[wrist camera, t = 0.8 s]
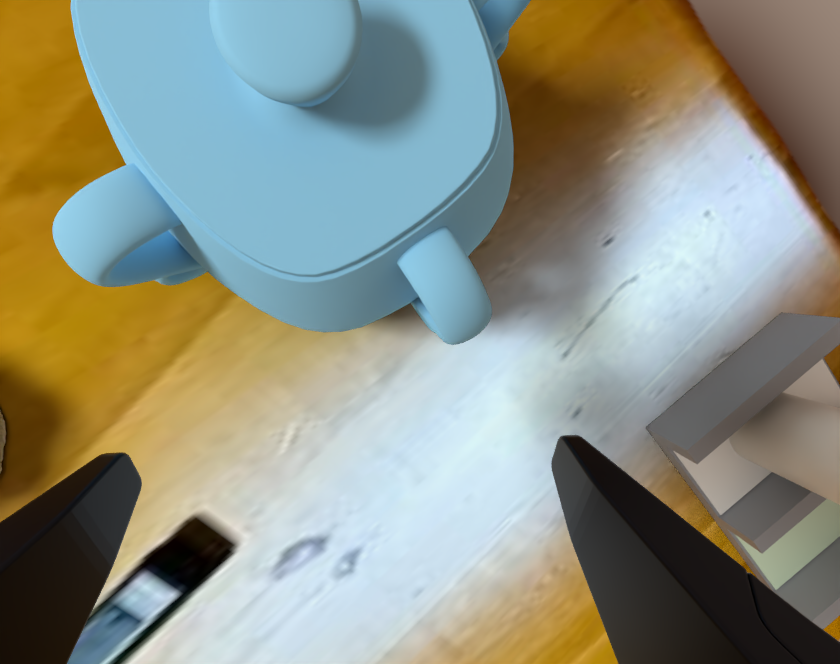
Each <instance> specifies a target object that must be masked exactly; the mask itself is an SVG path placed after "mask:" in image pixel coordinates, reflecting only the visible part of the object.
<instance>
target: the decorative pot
mask: <svg viewBox="0 0 840 664" xmlns="http://www.w3.org/2000/svg"><path fill="white" fill-rule="evenodd" d="M530 1H531V0H71V13H72V19H73V26H74V32H75V37H76V41H77V45H78V49H79V53H80V56H81V59H82V62H83V65H84V68H85V71H86V75H87V78H88V81H89V83H90V86H91V88H92V91H93V93H94V95H95V98H96V100H97V102H98V104H99V107H100V109H101V111H102V113H103V116H104V118H105V120H106V122H107V125H108V127H109V129H110V132H111V134H112V136H113V138H114V141H115V143H116V145H117V147H118V149H119V151H120V153H121V155H122V157H123V159H124V161H125V163H126V165H125V166H123V167H121V168H119V169H117V170H114V171H112V172H110V173H108V174H106V175H104V176H102V177H100V178H99V179H97V180H95V181H93V182H91V183H90V184H88V185H87V186H85V187H84V188H82V189H81V190H80V191H78V192H77V193H76V194H75V195H74V196H72V197H71V198H70V199H69V200H68V201H67V202H66V203H65V204H64V206H63V207H62V208H61V209H60V211H59V212H58V214H57V216H56V217H55V220H54V223H53V238H54V242H55V244H56V247H57V248H58V250H59V252H60V254H61V255H62V257H63V258H64V260H65V261H66V262H67V264H68V265H69V266H70V267H71V268H72V269H73V270H74V271H75V272H76V273H77V274H78V275H80V276H81V277H83V278H84V279H86V280H88V281H89V282H91V283H93V284H96V285H99V286H104V287H120V286H127V285H133V284H138V283H143V282H148V281H152V280H155V281H158V282H159V283H161V284H164V285H176V284H180V283H183V282H186V281H189V280H191V279H194V278H196V277H198V276H200V275H202V274H204V273H206V272H209V273H210V274H211V275H212V276H213V277H214V278H215V279H217V280H218V281H219V282H221V283H222V284H223V285H225V286H226V287H227V288H229V289H230V290H231V291H233V292H234V293H235V294H237V295H238V296H240V297H241V298H243V299H244V300H246V301H247V302H249V303H250V304H252V305H253V306H255V307H256V308H258V309H259V310H261V311H263V312H265V313H267V314H269V315H271V316H273V317H274V318H276V319H278V320H280V321H282V322H284V323H287V324H290V325H293V326H296V327H299V328H302V329H305V330H312V331H319V332H342V331H347V330H351V329H356V328H360V327H363V326H365V325H368V324H370V323H372V322H374V321H376V320H379V319H381V318H383V317H385V316H387V315H389V314H391V313H393V312H395V311H397V310H398V309H400V308H402V307H404V306H406V305H408V304H409V303H411V304H412V306H413V307H414V309H415V310H416V312H417V313H418V315H419V316H420V317H421V319H422V320H423V321H424V323H425V324H426V325H427V327H428V328H429V329H430V330H431V331H432V332H434V333H436V334H437V335H438V336H439V337H440V338H441V339H442V340H443V341H444V342H445V343H447V344H451V345H454V344H460V343H463V342H466V341H468V340H470V339H472V338H473V337H475V336H476V335H478V334H479V333H480V332H481V331H482V330H483V329H484V328H485V327H486V326H487V324H488V323H489V321H490V319H491V316H492V307H491V303H490V300H489V297H488V295H487V292H486V290H485V288H484V285H483V283H482V281H481V279H480V277H479V275H478V273H477V271H476V270H475V268H474V266H473V264H472V263H471V261H470V259H469V258H468V256H469V255H470V254H471V253H472V251H473V250H474V249H475V248H476V247H477V246H478V245H479V244H480V243H481V242H482V241H483V240H484V238H485V237H486V236H487V235H488V234H489V232H490V231H491V229H492V227H493V226H494V224H495V222H496V221H497V219H498V217H499V216H500V214H501V212H502V210H503V207H504V204H505V202H506V199H507V196H508V193H509V189H510V184H511V179H512V173H513V153H514V145H513V133H512V126H511V120H510V113H509V108H508V103H507V98H506V94H505V90H504V86H503V82H502V79H501V75H500V71H499V68H498V64H497V60H498V59H499V57H500V56H501V55H502V53H503V52H504V50H505V48H506V46H507V43H508V38H509V33H508V31H509V29H510V28H511V27H512V25H513V24H514V23H515V21H516V20H517V19H518V17H519V16H520V15H521V13H522V12H523V10H524V9H525V8H526V6H527V5H528V4H529V2H530Z"/></svg>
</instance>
